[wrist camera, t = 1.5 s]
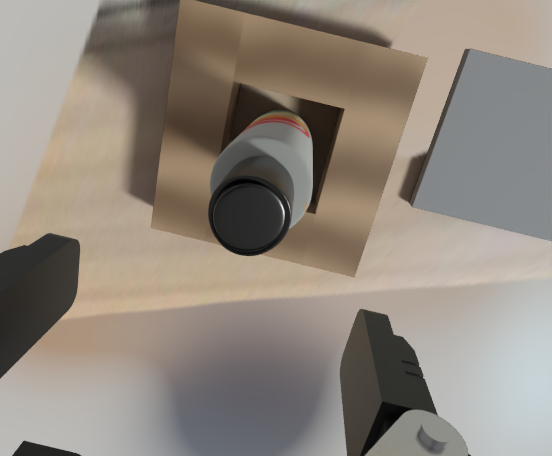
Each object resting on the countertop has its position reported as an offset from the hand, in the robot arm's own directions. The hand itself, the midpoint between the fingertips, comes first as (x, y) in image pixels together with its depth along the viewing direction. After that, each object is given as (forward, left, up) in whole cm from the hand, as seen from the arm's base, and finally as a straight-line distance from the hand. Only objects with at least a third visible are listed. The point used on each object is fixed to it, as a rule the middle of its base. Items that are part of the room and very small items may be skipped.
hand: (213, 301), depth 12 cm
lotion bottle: (0, 0, -27) cm, 27 cm away
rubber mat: (-4, +19, -27) cm, 33 cm away
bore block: (0, 0, -27) cm, 27 cm away
